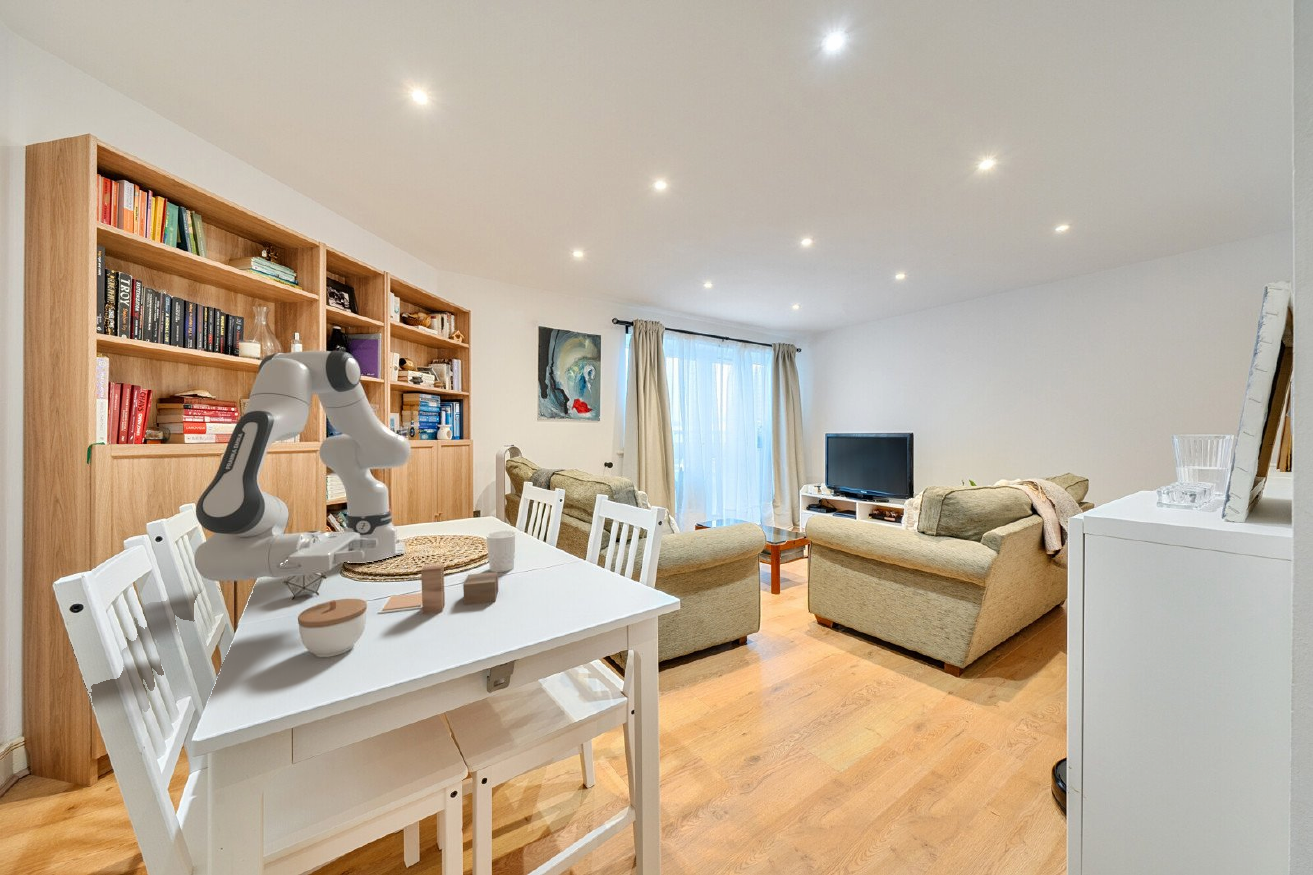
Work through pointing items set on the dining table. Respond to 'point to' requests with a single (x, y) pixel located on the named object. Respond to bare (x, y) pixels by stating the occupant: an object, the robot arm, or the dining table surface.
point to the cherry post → (433, 588)
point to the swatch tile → (402, 603)
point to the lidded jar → (332, 626)
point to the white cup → (501, 551)
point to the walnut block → (480, 588)
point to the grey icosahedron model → (305, 583)
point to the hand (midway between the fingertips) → (370, 548)
